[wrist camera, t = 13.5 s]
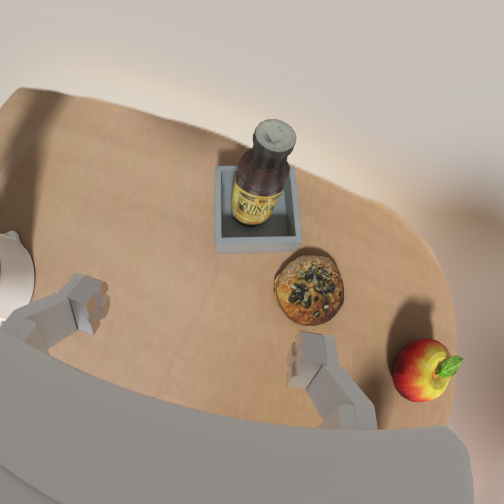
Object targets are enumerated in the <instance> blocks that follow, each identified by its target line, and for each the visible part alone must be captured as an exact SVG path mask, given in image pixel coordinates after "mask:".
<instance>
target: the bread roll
mask: <svg viewBox="0 0 504 504" xmlns="http://www.w3.org/2000/svg"><path fill="white" fill-rule="evenodd" d="M274 296H275V298H276V299H277V302H278V304H279V307H280V309H282V310H283V312H284V314H285V315H286V317H287V318H288V319H290V320H292V321H293V322H295V323H296V324H300V325H305V326H316V325H320V324H323V323H325V322H328V321H329V320H331V319H332V318H333V317H334V316H335V315H336V313H337V312H338V311H339V309H340V307H341V306H342V305H343V302H344V286H343V281H342V278H341V274H340V271H339V270H338V268H337V266H336V265H335V264H334V263H333V261H332V260H331V259H330V258H328V257H323V256H316V255H308V256H305V255H304V256H301V257H298V258H296V259H295V260H294V261H292V262H290V263H289V264H288V265H287V266H286V267H285V268H284V269H283V271H282V273H281V274H279V275H278V276H277V278H276V279H275V291H274Z"/></svg>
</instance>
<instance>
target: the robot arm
mask: <svg viewBox="0 0 504 504" xmlns="http://www.w3.org/2000/svg"><path fill="white" fill-rule="evenodd" d="M33 289H34V267H33V262H32V259H31V257H30V254H29V253H28V251H27V250H26V248H25V247H24V246H23V245H22V244H21V242H20V239H19V236H18V233H17V232H15V231H10V232H7V233H5V234H0V504H474V487H473V478H472V470H471V464H470V459H469V454H468V450H467V447H466V445H465V444H464V442H463V441H462V440H461V439H460V438H459V437H458V436H457V435H456V434H455V432H453V430H451V429H450V428H449V427H448V426H446V425H436V426H426V427H416V428H402V429H378V427H377V421H376V414H375V408H374V405H373V403H372V402H371V401H370V400H369V399H368V397H367V396H366V395H365V394H364V393H363V391H362V390H361V389H360V388H359V387H358V385H357V384H356V383H355V382H354V381H353V379H352V378H351V377H350V376H349V375H348V373H347V372H346V371H345V370H344V369H343V367H339V362H338V356H337V349H336V343H335V338H334V336H330V335H324V334H317V333H311V332H306V331H300V330H299V331H298V332H297V334H296V336H295V342H294V343H292V344H291V346H290V349H289V352H288V358H287V365H288V366H289V370H288V372H287V386H290V387H295V388H302V389H306V391H307V393H308V395H309V396H310V398H311V400H312V401H313V403H314V405H315V407H316V408H317V410H318V412H319V413H320V415H321V417H322V419H323V420H324V422H323V423H322V424H321V425H320V426H319V427H318V428H310V427H299V426H289V425H280V424H273V423H265V422H259V421H252V420H246V419H241V418H235V417H230V416H225V415H220V414H215V413H211V412H206V411H202V410H198V409H194V408H190V407H186V406H182V405H178V404H175V403H171V402H168V401H164V400H161V399H157V398H154V397H151V396H148V395H145V394H142V393H139V392H136V391H133V390H130V389H127V388H124V387H121V386H119V385H116V384H113V383H111V382H108V381H106V380H103V379H100V378H98V377H96V376H93V375H91V374H88V373H86V372H84V371H81V370H79V369H77V368H75V367H73V366H70V365H68V364H66V363H64V362H62V361H60V360H58V359H56V358H54V357H52V356H50V354H49V351H48V349H49V348H50V347H52V346H53V345H55V344H57V343H58V342H60V341H61V340H63V339H65V338H66V337H68V336H70V335H71V334H73V333H74V332H76V331H77V329H78V330H80V331H83V332H86V333H88V334H91V335H94V334H95V332H96V331H97V329H98V327H99V326H100V321H99V320H101V319H103V318H105V316H106V314H107V313H108V310H109V306H110V299H109V296H108V295H107V294H106V292H107V291H108V285H107V283H106V282H104V281H101V280H98V279H95V278H92V277H90V276H86V275H83V274H81V273H76V274H74V275H73V277H72V278H71V279H70V280H69V281H68V282H67V283H66V285H65V286H64V287H63V288H62V289H61V290H60V292H59V293H58V294H55V293H54V294H52V295H49V296H47V297H44V298H42V299H39V300H37V301H34V302H32V303H30V304H29V302H30V300H31V297H32V294H33Z"/></svg>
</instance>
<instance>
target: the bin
mask: <svg viewBox="0 0 504 504" xmlns="http://www.w3.org/2000/svg"><path fill="white" fill-rule="evenodd" d="M237 169H238V166H215V242H216V251H217V254H226V253H267V252H293V251H294V250H295V249H296V248H297V247H298V246H299V245H300V244H301V243H302V234H301V224H300V213H299V204H298V194H297V185H296V176H295V168H294V167H293V166H290V171H289V175H288V179H287V183H286V186H285V189H284V190H283V192H282V194H281V196H280V198H279V200H278V202H277V203H276V205H275V207H274V209H273V211H272V213H271V215H270V216H269V218H268V219H267V220H266V221H265V222H264V223H262V224H260V225H257V226H254V227H250V226H249V227H248V226H245V225H243V224H240V223H239V222H237V220H236V219H235V218H234V216H233V214H232V211H231V200H232V194H233V187H234V182H235V176H236V172H237Z"/></svg>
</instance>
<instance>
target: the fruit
mask: <svg viewBox="0 0 504 504" xmlns="http://www.w3.org/2000/svg"><path fill="white" fill-rule="evenodd" d="M462 360H463V358H461V357H459V356H453V357H451V356H450V354H449V352H448V350H447V348H446V347H445V346H444V345H442V344H441V343H440V342H438V341H436V340H432V339H420V340H416V341H413V342H412V343H410V344H409V345H407V346H406V347H404V349H403V350H402V351H401V352H400V353H399V355H398V357H397V358H396V360H395V362H394V367H393V382H394V386H395V388H396V390H397V391H398V392H399V394H400V395H401V396H402V397H404V398H406V399H408V400H410V401H413V402H425V401H429V400H432V399H435V398H437V397H439V396H440V395H441V394H442V393H443V392H444V390H445V389H446V387H447V385H448V383H449V380H450V378H451V376H453V375H454V374H455V373H456V372H457V370H458V368H459V366H460V364H461V362H462Z"/></svg>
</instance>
